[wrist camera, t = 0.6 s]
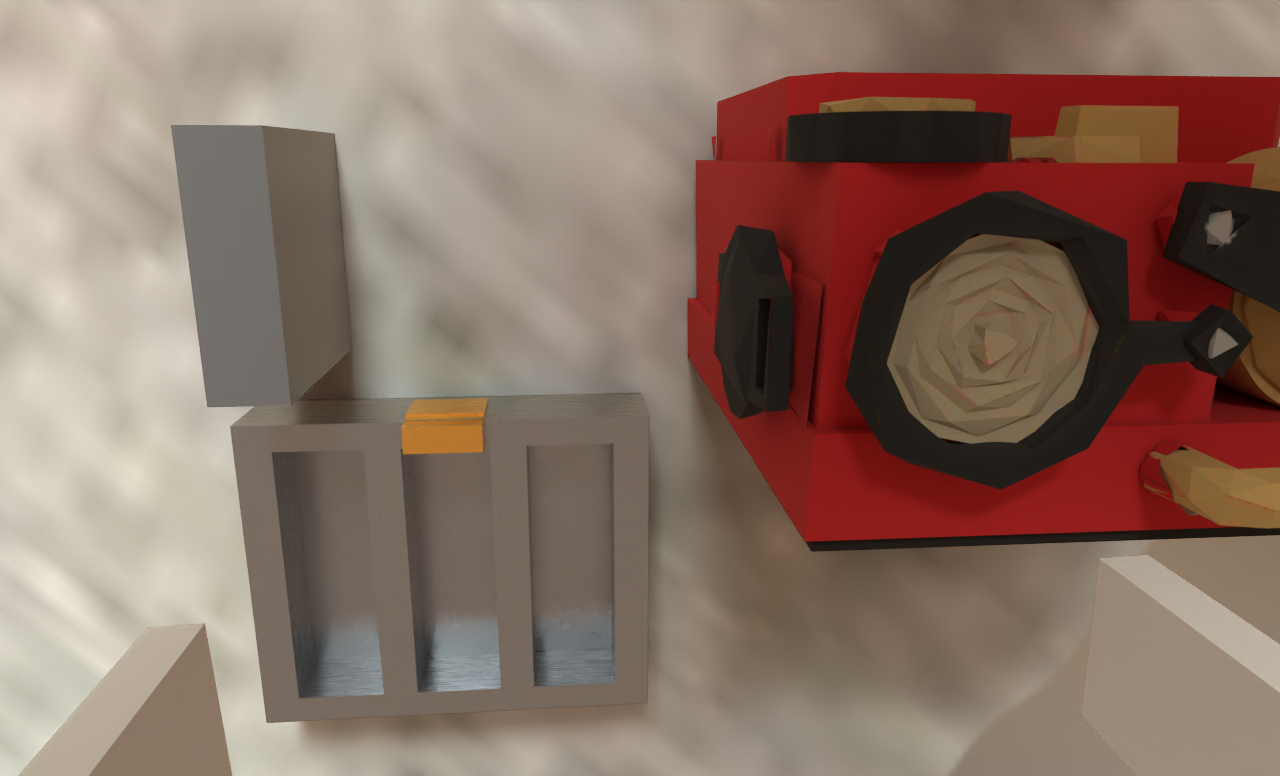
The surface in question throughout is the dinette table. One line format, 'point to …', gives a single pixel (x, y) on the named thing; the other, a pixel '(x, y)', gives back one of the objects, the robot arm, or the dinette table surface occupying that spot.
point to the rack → (447, 553)
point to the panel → (263, 259)
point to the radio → (998, 304)
